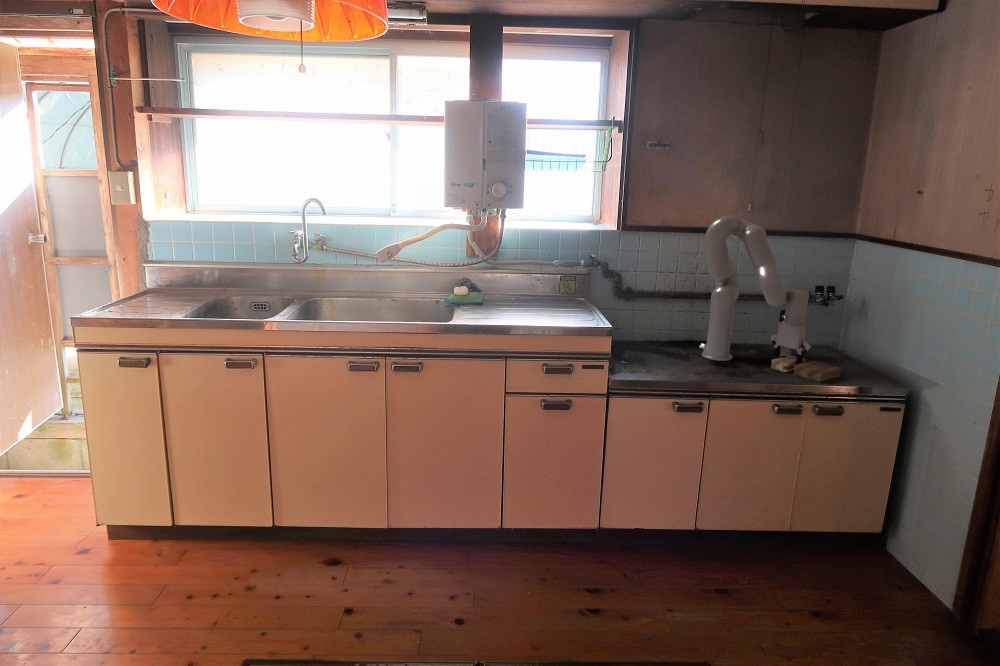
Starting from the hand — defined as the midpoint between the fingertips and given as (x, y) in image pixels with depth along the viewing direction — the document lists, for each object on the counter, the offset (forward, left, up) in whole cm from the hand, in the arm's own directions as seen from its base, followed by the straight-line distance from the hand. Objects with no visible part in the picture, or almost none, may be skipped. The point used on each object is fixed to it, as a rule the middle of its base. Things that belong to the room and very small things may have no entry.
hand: (787, 360), depth 267 cm
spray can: (-13, +17, -3) cm, 22 cm away
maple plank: (0, 0, -3) cm, 3 cm away
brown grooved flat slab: (+13, 0, -3) cm, 13 cm away
